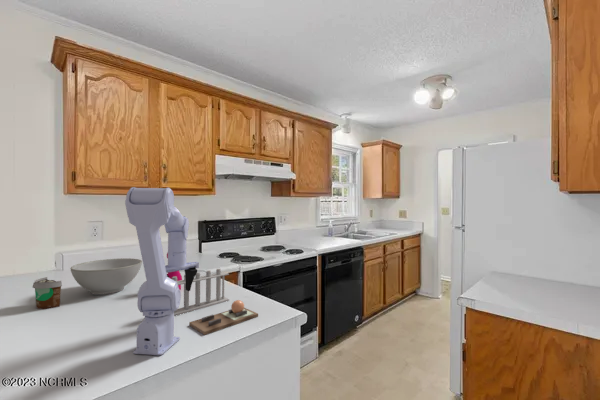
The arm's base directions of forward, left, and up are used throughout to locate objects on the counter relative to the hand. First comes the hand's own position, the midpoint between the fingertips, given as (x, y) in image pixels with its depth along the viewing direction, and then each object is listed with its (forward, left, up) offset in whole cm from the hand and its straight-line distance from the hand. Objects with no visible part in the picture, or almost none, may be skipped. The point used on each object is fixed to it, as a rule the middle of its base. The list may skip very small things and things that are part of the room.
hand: (176, 292), depth 96 cm
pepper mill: (+33, +20, -10) cm, 40 cm away
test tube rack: (+13, -1, -10) cm, 16 cm away
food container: (+7, +57, -10) cm, 58 cm away
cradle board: (+2, -16, -9) cm, 19 cm away
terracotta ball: (+6, -19, -6) cm, 21 cm away
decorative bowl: (+29, +49, -10) cm, 58 cm away
